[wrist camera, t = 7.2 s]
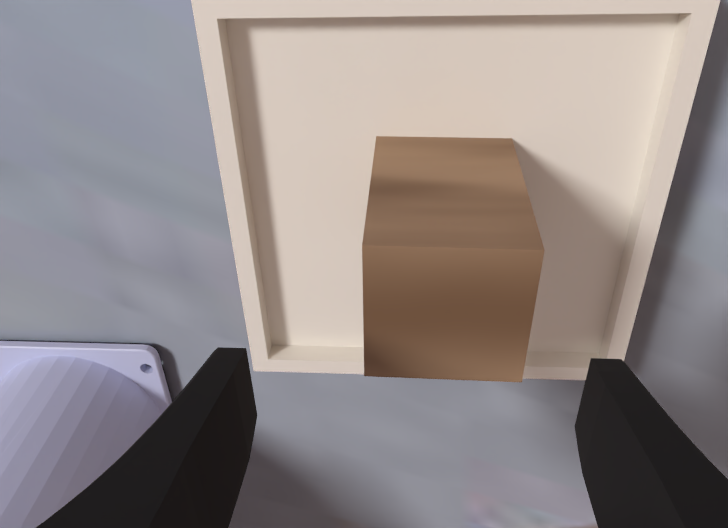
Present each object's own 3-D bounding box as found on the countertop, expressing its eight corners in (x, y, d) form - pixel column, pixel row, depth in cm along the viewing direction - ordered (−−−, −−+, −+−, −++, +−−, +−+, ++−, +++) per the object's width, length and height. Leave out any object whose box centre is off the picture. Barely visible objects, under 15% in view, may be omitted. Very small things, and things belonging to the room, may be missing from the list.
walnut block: (497, 251, 21) (521, 382, 16) (376, 248, 22) (364, 376, 17) (511, 138, 19) (544, 250, 14) (376, 136, 19) (362, 245, 14)
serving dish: (605, 343, 25) (618, 381, 23) (264, 335, 26) (253, 370, 24) (694, -30, 17) (724, -14, 16) (210, -22, 18) (190, -6, 17)
